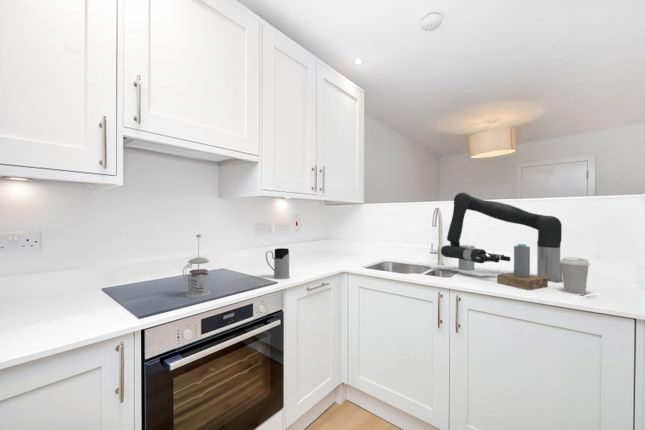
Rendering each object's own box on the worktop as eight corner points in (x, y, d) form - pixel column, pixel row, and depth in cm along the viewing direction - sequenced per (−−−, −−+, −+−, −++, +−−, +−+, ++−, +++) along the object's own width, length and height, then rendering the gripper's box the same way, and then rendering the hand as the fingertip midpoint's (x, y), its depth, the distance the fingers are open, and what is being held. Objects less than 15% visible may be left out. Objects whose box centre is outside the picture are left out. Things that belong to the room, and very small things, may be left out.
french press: (202, 298, 110) (202, 235, 110) (176, 296, 112) (176, 234, 112) (215, 291, 120) (215, 233, 119) (191, 289, 122) (191, 233, 121)
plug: (519, 283, 132) (519, 243, 132) (529, 285, 128) (529, 244, 128) (513, 284, 130) (514, 243, 130) (523, 286, 126) (524, 244, 126)
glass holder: (284, 279, 141) (284, 250, 141) (261, 277, 146) (261, 249, 146) (292, 276, 149) (292, 248, 149) (270, 274, 154) (270, 247, 154)
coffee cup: (582, 298, 112) (582, 261, 112) (555, 291, 121) (555, 257, 121) (594, 295, 116) (595, 259, 116) (567, 289, 124) (567, 256, 124)
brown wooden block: (515, 282, 138) (515, 272, 138) (547, 289, 125) (547, 278, 125) (497, 284, 132) (497, 274, 132) (528, 292, 120) (528, 280, 120)
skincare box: (465, 267, 176) (465, 244, 176) (475, 269, 171) (475, 245, 171) (457, 269, 171) (458, 245, 171) (467, 270, 166) (467, 246, 166)
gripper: (465, 249, 148) (494, 252, 133) (483, 247, 154) (513, 251, 139) (465, 263, 148) (494, 268, 133) (483, 261, 154) (513, 266, 139)
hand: (504, 259), depth 136 cm, fingers open, 8 cm apart
